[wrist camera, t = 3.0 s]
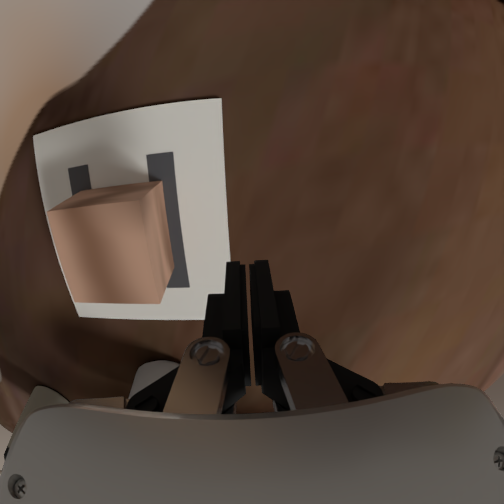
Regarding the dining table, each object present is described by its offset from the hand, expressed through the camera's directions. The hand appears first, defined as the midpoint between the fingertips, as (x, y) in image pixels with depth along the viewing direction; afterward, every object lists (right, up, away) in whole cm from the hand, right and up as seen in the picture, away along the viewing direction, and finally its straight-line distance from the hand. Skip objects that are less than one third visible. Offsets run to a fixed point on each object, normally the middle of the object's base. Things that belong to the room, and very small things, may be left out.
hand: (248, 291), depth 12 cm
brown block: (-10, +3, +9) cm, 14 cm away
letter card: (-10, +4, +9) cm, 14 cm away
